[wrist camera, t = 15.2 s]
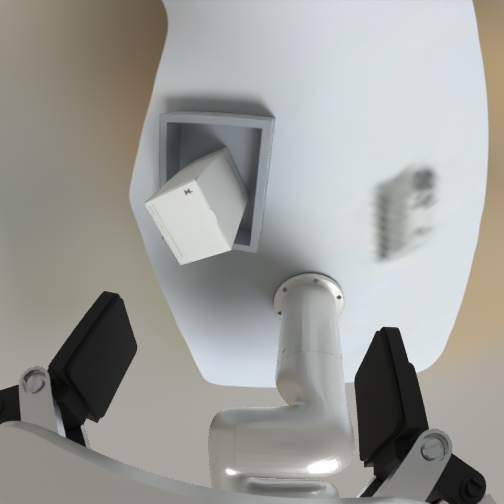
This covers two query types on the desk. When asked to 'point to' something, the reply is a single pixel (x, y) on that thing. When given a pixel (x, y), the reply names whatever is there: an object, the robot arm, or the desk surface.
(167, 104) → the desk surface
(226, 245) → the skincare box
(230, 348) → the desk surface
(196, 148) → the tote
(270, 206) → the desk surface
